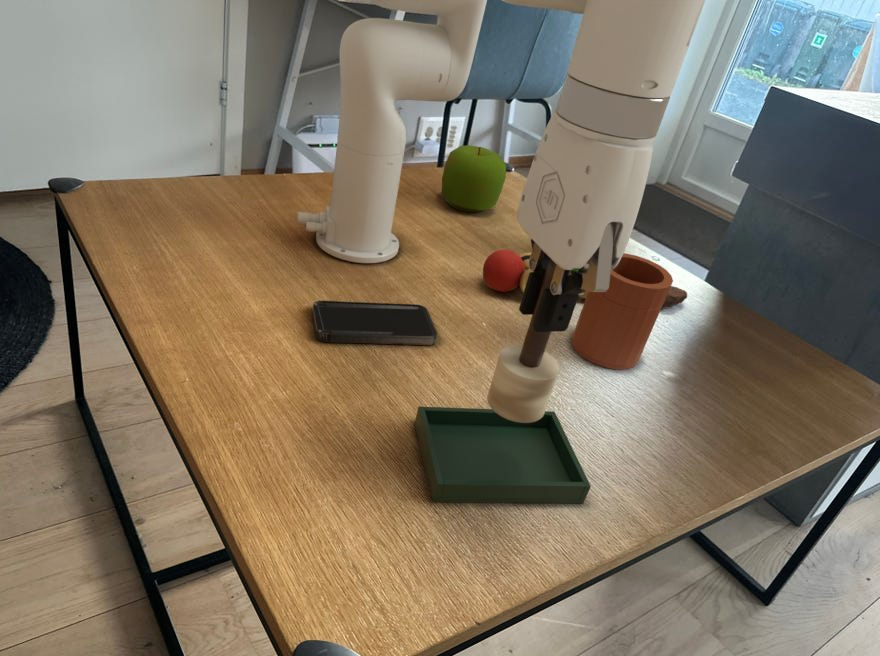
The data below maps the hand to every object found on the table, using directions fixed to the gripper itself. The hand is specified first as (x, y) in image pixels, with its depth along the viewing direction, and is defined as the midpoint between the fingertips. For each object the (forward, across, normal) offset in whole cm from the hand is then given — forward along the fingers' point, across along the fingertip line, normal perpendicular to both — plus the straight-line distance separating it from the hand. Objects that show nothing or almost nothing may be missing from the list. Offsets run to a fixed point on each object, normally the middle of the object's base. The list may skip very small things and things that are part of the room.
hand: (542, 320), depth 62 cm
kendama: (+17, -33, +21) cm, 43 cm away
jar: (+17, -19, +24) cm, 35 cm away
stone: (+17, -30, +41) cm, 54 cm away
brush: (+10, 0, 0) cm, 10 cm away
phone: (+17, -26, -6) cm, 31 cm away
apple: (+17, -64, +22) cm, 70 cm away
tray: (+17, 0, 0) cm, 17 cm away
